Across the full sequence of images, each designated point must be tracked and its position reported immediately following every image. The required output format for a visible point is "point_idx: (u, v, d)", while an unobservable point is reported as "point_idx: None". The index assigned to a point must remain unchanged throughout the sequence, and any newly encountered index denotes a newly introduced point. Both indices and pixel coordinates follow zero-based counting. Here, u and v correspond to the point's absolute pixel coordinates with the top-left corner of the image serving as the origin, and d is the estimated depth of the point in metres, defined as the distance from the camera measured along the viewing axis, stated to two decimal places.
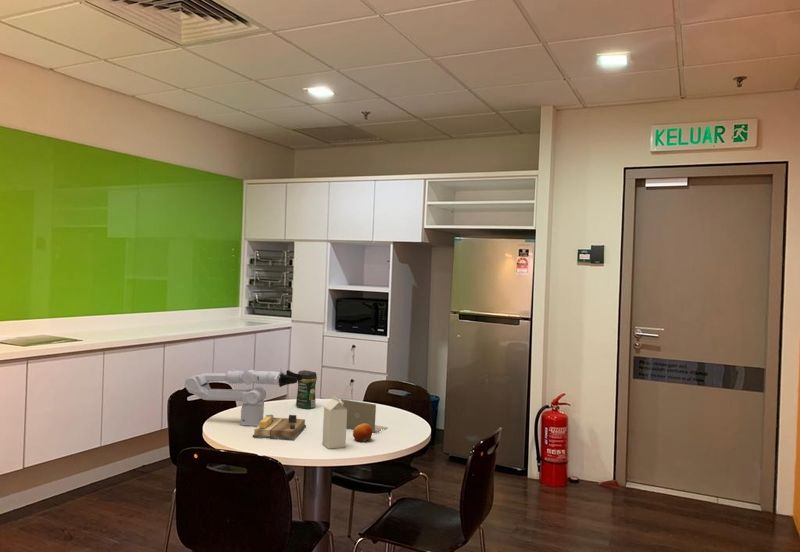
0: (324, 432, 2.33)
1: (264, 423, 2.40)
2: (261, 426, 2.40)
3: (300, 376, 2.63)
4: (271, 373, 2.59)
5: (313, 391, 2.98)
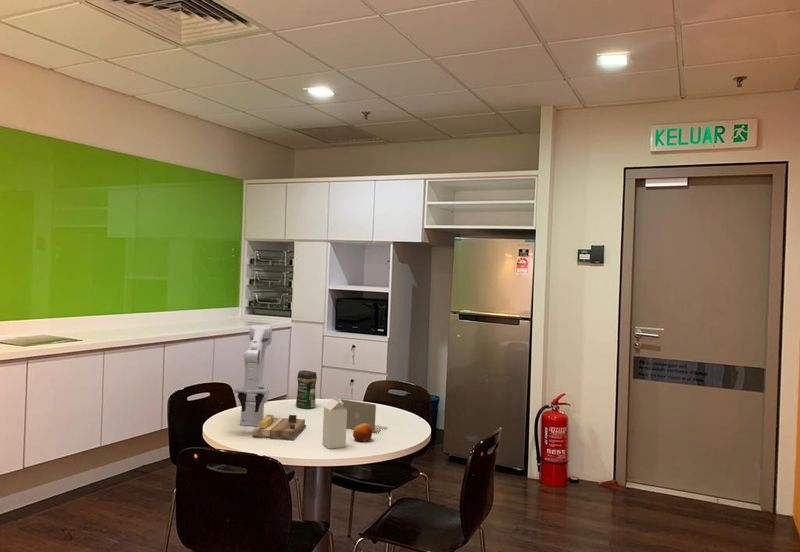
0: (324, 432, 2.33)
1: (264, 423, 2.40)
2: (261, 426, 2.40)
3: None
4: (245, 382, 2.42)
5: (313, 391, 2.98)
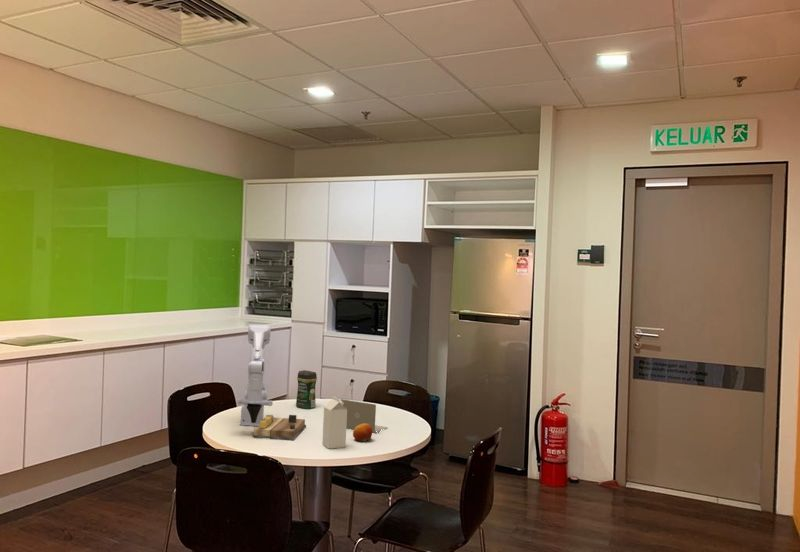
0: (324, 432, 2.33)
1: (264, 423, 2.40)
2: (261, 426, 2.40)
3: None
4: (249, 393, 2.42)
5: (313, 391, 2.98)
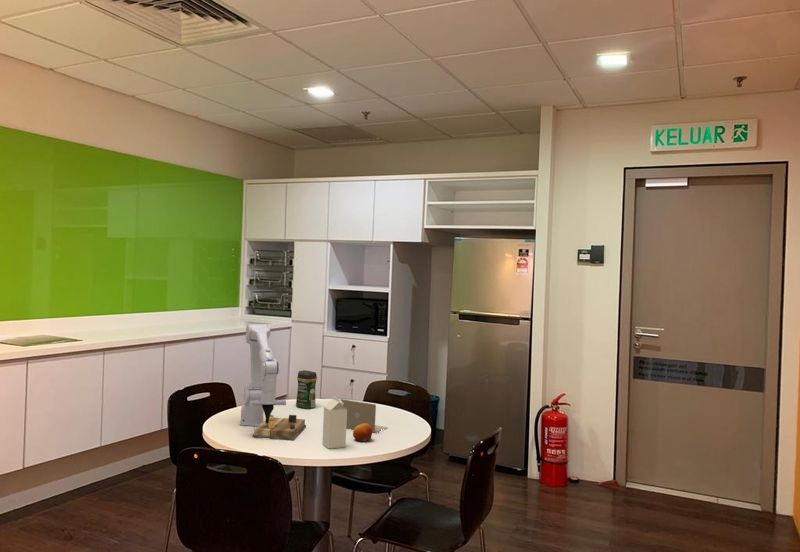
0: (324, 432, 2.33)
1: (274, 423, 2.41)
2: (270, 426, 2.41)
3: (266, 422, 2.43)
4: (265, 394, 2.41)
5: (313, 391, 2.98)
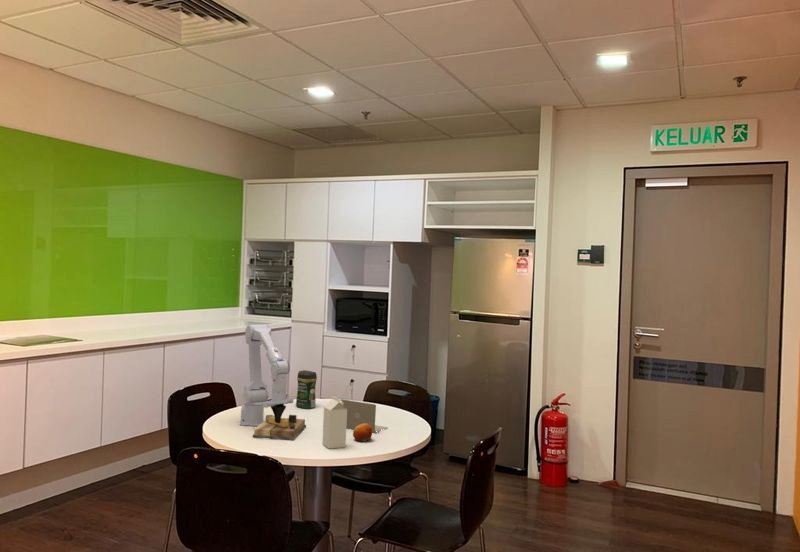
0: (324, 432, 2.33)
1: (287, 421, 2.45)
2: (285, 425, 2.44)
3: (277, 421, 2.44)
4: (279, 394, 2.43)
5: (313, 391, 2.98)
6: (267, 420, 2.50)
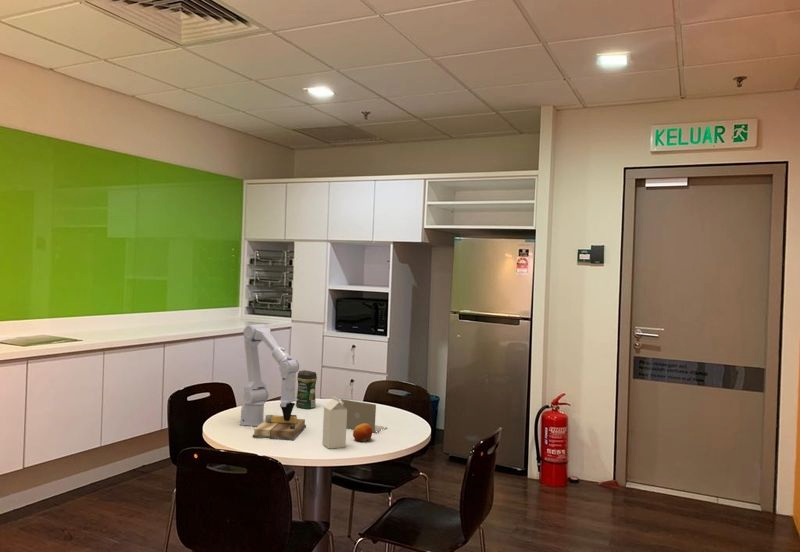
0: (324, 432, 2.33)
1: (296, 418, 2.52)
2: (295, 421, 2.51)
3: (287, 419, 2.49)
4: (292, 392, 2.48)
5: (313, 391, 2.98)
6: (269, 420, 2.50)
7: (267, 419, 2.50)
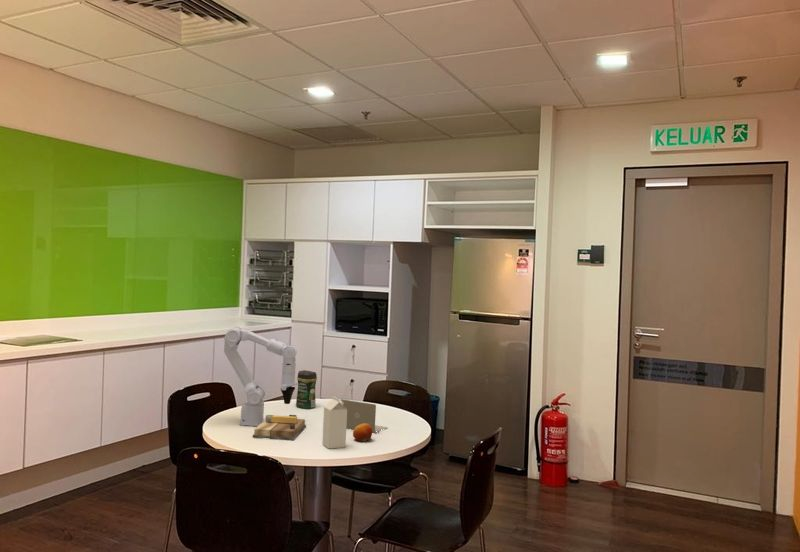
0: (324, 432, 2.33)
1: (296, 417, 2.52)
2: (295, 421, 2.51)
3: None
4: (292, 377, 2.61)
5: (313, 391, 2.98)
6: (269, 420, 2.50)
7: (267, 419, 2.50)
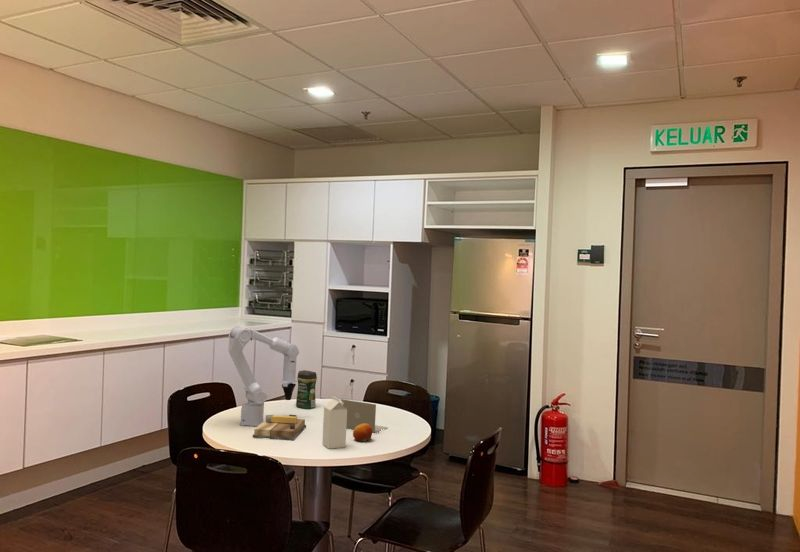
0: (324, 432, 2.33)
1: (296, 417, 2.52)
2: (295, 421, 2.51)
3: None
4: (293, 374, 2.69)
5: (313, 391, 2.98)
6: (269, 420, 2.50)
7: (267, 419, 2.50)
